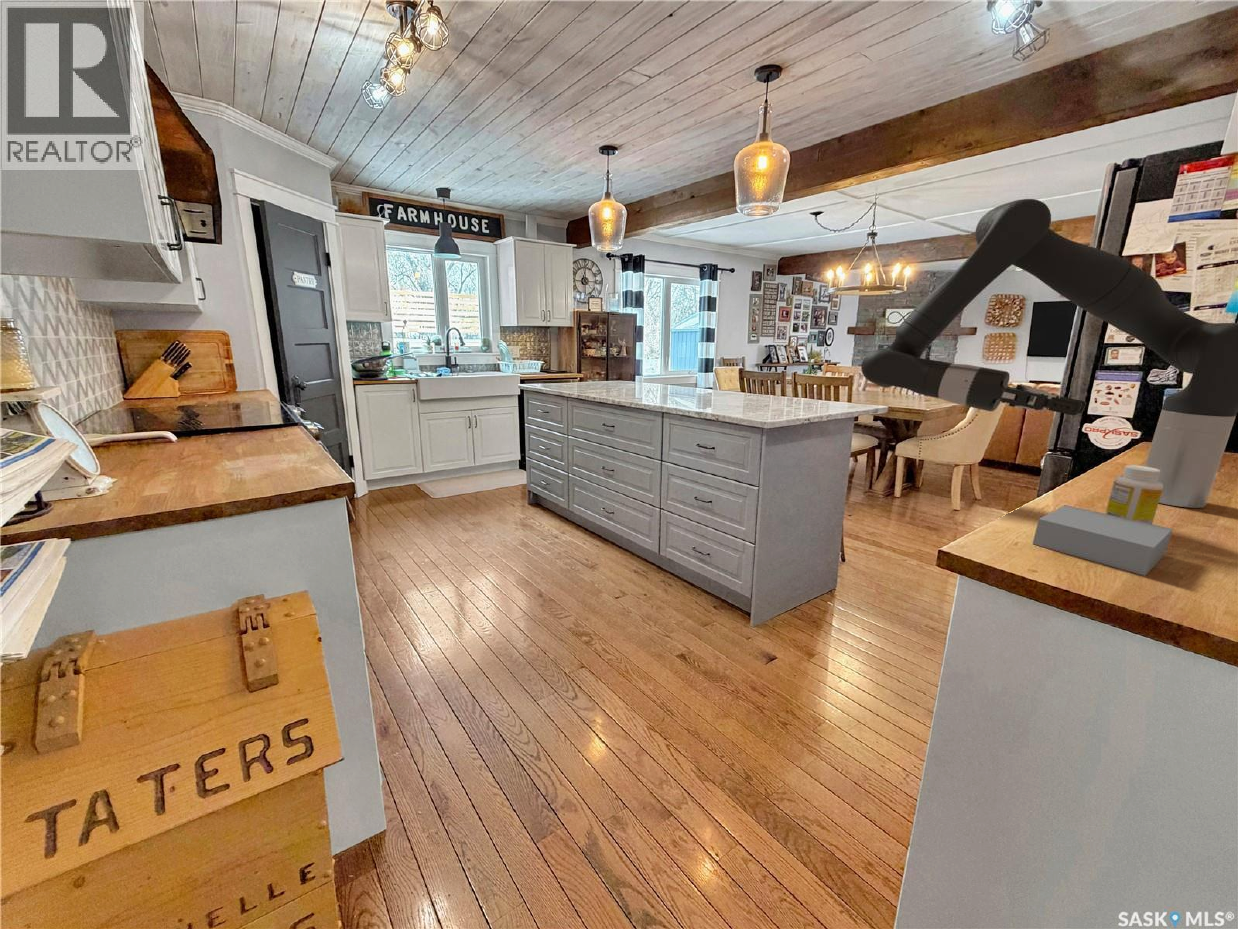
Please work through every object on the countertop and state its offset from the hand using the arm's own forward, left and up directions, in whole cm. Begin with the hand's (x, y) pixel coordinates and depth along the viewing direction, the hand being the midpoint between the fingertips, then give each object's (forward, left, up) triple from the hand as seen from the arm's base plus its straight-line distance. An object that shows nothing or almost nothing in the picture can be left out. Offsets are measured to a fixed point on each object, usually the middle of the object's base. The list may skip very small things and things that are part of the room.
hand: (1082, 408), depth 84 cm
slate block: (+15, +9, -19) cm, 26 cm away
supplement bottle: (-1, +9, -19) cm, 21 cm away
